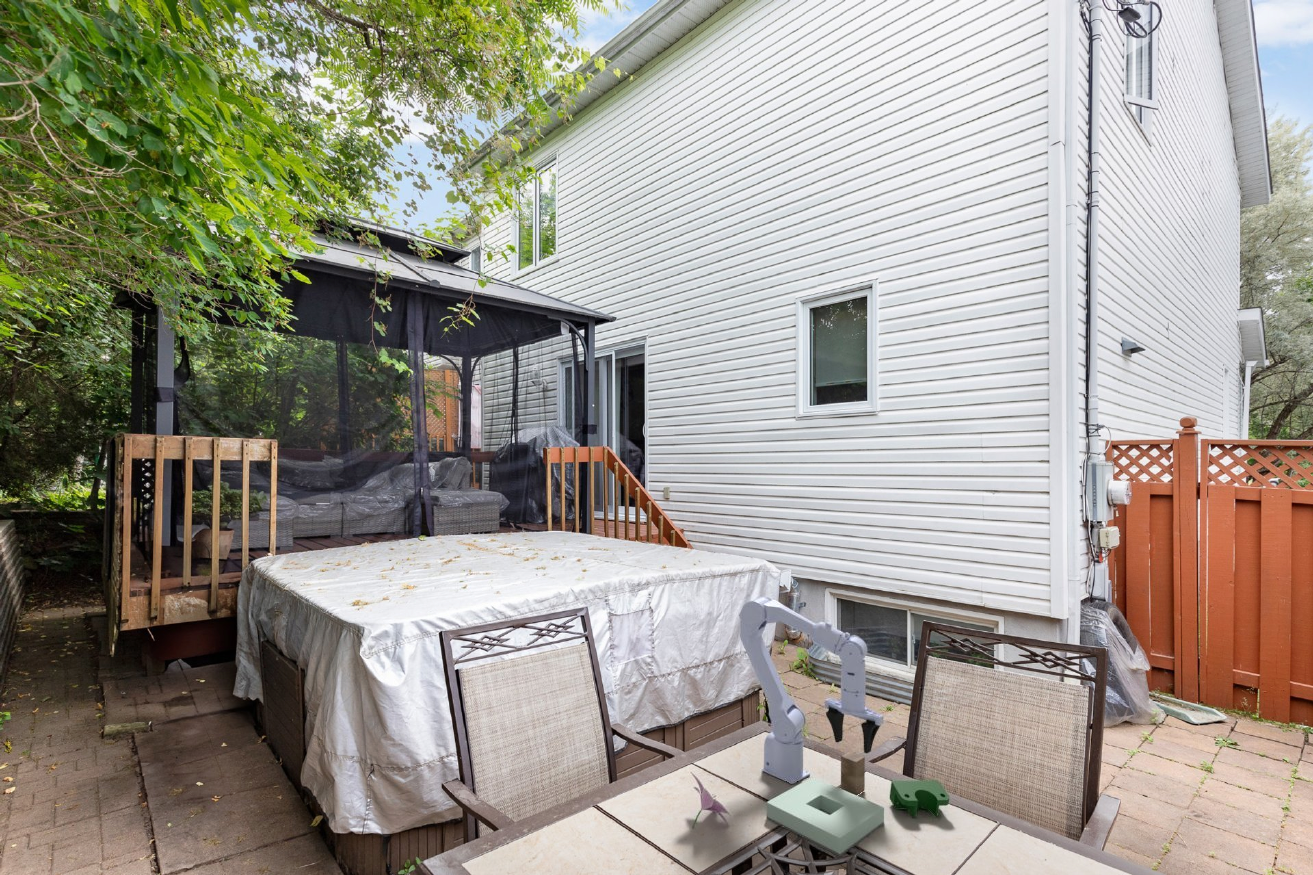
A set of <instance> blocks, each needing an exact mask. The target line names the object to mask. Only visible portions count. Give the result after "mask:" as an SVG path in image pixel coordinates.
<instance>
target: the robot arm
mask: <svg viewBox="0 0 1313 875" xmlns="http://www.w3.org/2000/svg"><path fill="white" fill-rule="evenodd" d="M738 616H739V619H740V625H739V627H740V628H739V637H740V641H741V643H742V645H743V647H744V649H745V652H746V654H747V656H748V659H749V661H750V663H751V666H752V669H753V670H754V672H755V675H756V677H757V679H758V681H759V684H760V685H761V688H762V691H763V693H764V695H765V698H766V700H767V701H768V716H769V719H770V722H771V732H769V733H768V734H767V736H766V737H765V739H764V744H763V767H762V768H761V771H762V772H764V773H766V774H768V775H771V776H773V777H775V778H777V779H779V780H781V781H784V782H786V781H787V782H786V783H788V782H789V784H790V785H795V784H797V783H798V782H800V781H802V780H803V779H805V778H807V777H809V776H810V775H811V772H810V771H807V770H805V769H804V735H803V731H802V730H803V728H804V727H805V725H806V721H807V719H806V718H807V717H806V715H805V713H804V711H803V709H801V708H800V707H799V706H798V705H797V704H796V701H795V699H794V698H793V697H792V696H790V695H789V694H788V692H787V690H786V688H785V686H784V684H783V681H782V679H781V676H780V674H779V672H778V670H777V667H776V666H775V663H774V661H773V659H772V657H771V654H770V652H769V650H768V648H767V645H766V643H765V641H764V640H763V636H762V635H763V633H764V631H765V628H766V627H767V626H766V625H767V624H775V623H782V624H784V625H786V626H789V627H790V628H792V629H795V630H796V631H799V632H801V633H804V634H806V635H808V636H809V638H810V639H811V642H812V643H813V644H815V645H816V646H819V647H820V648H822V649H824V650H825V651H827V652H829V653H832V654H833V655H836V656H838V657H839V660H840V661H841V668H840V700H837V699H832V698H827V699H824V708H825V709H828V710H827V711H825V716H826V717H827V720H828V722H829V724H830V726H831V730H832V733H833V737H834V741H835V743H837V744H838V743H840V742H842V741H843V737H844V736H843V733H844V731H843V730H844V729H843V728H844V726H843V725H844V718H845V715H846V716H852V717H855V718H857V719H861V720H865V721H864V722H862V723H861V724H860V727H861V730H862V735H863V753H865V754H869V753H871V752H872V748H873V745H874V744H873V743H874V740H875V737H876V736H877V732H878V731H879V729H880V727H881V726H882V725H884V715H883V714H880V713H877V712H875V711H874V710H872V709H869V708H867V706H866V684H867V682H866V672H867V671H866V660H865V658H866V656H867V654H868V645H867V643H866V641H864V639H862V638H861V637H860V636H859V635H855V634H853V635H851V633H849V632H847V631H846V632H843V631H841V630H840V629H838V628H836V627H833V624H832V623H831V622H829V621H826V622H824V621H820V622H817V623H815V622H814V621H812V620H810V619H809V618H806V617H804V616H803V615H801V614H799V613H797V612H796V611H794V610H793V609H791V608H789V607H788V606H786V605H784V604H782V603H781V602H779V601H778V600H775V599H772V598H770V597H769V596H766V595H760V596H758V597H756V598H755V599H753V600H749V601H747V602H746V603H744V605H743V606H742V607H741V610H740V613H739V614H738ZM808 775H809V776H808ZM797 781H798V782H797Z"/></svg>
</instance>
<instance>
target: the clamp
mask: <svg viewBox="0 0 1313 875" xmlns="http://www.w3.org/2000/svg"><path fill="white" fill-rule="evenodd" d="M889 791H890V792H889V800H890V802H891V804H892V806H893V807H894V809H896V808H907V811H908V812H909V813H910V816H911V817H912V819H916V818H917V812H918V809H924V810H926V811H928V812H930V813H931V814H932V815H933V816H935V817H934V818H935V819H937V818H938V816H939V811H940V810H939V809H940V806H942V807H943V806H944V807H945V806H949V803H950V799H951V798H950V795H949V793H948V792H947V791H946V789H945V788H944V786H942V784H941V782H940V781H939V780H891V784H890V790H889Z"/></svg>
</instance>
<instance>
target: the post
mask: <svg viewBox="0 0 1313 875" xmlns="http://www.w3.org/2000/svg"><path fill="white" fill-rule="evenodd" d="M865 759H866V758H865V756H863V755H860V754H858V753H855V752H852V751H848V752H846V753H845V754H842V755H840V789H842V790H845V791H847V792H849V793H852V794H854V795H856V796H857V795H858V794H860V793H861V792H863V791H864V790H865V780H866V778H865V773H866V772H865V771H866V770H865V769H866V768H865V766H866V763H865V762H866V760H865ZM863 793H864V792H863ZM860 795H861V794H860ZM858 796H859V795H858Z"/></svg>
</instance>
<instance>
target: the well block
mask: <svg viewBox="0 0 1313 875" xmlns="http://www.w3.org/2000/svg"><path fill="white" fill-rule="evenodd" d="M765 816H766V817H765V819H766V820H768V821H771V822H772V823H774V824H776V825H778V826H780V825H782V826H784V827H785V828H786V829H785V828H784V829H785V830H787V829H788V832H792V833H794V834H795V835H797V836H799V835H801V836H803V837H804V838H803V837H802V838H803V839H805V838H806V839H805V840H806V841H809V842H811V843H812V844H815V846H816V845H817V846H819V847H820V848H823V850H827V851H828V852H830V853H832V854H835V855H836V856H838V857H840V856H841V855H842V856H843V855H845V854H846V853H847V852H849V851H850V850H851V849H852V848H851V847H852V846H854V847H856V845H858V844H859V843H861V842H862V841H864V840H865V839H866V838H867V837H869V836H870V835H871V834H872V833H874V832H875V831H876V829H877V830H878V829H880V828H881V827H882V826H883V825H885V807H884V806H883V805H880V804H877V803H874V802H873V801H871V800H869V799H866V798H863V797H860V795H858V796H856V795H854V794H852V793H849V792H847V791H845V790H842V789H841V787H837V786H835V785H832V784H830V783H828V782H826V781H824V780H821V779H819V778H817V777H814V776H811V777H810V778H808V779H806V780H804V781H802V782H801V783H799V784H797V785H795V786H793V787H791V788H790V789H788V790H786V791H784V792H782V793H781V794H779V795H777V796H776V797H774V798H771V799H769V800H768V801H766V815H765ZM782 826H781V827H782ZM801 836H800V837H801ZM850 848H851V849H850ZM849 849H850V850H849ZM848 850H849V851H848ZM844 853H845V854H844ZM842 856H841V857H842Z"/></svg>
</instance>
